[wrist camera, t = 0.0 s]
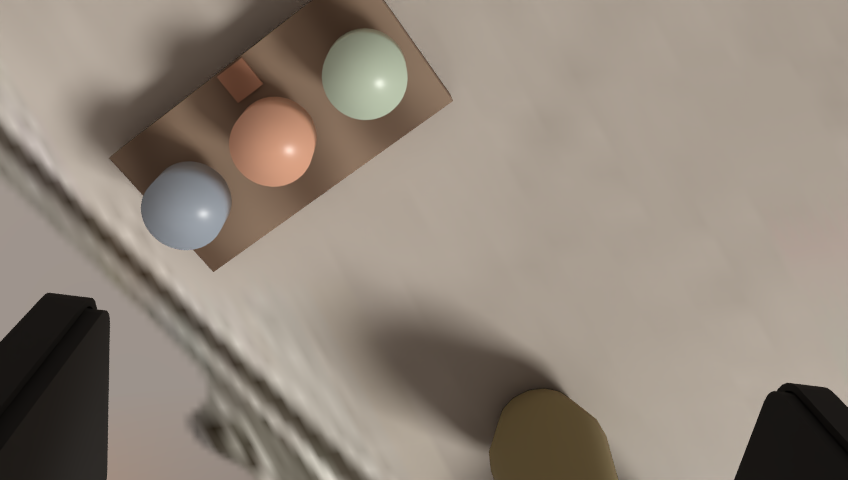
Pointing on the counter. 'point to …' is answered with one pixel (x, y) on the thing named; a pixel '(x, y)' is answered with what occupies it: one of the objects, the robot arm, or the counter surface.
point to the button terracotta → (273, 141)
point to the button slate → (186, 205)
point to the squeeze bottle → (549, 441)
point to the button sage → (364, 74)
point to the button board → (300, 82)
